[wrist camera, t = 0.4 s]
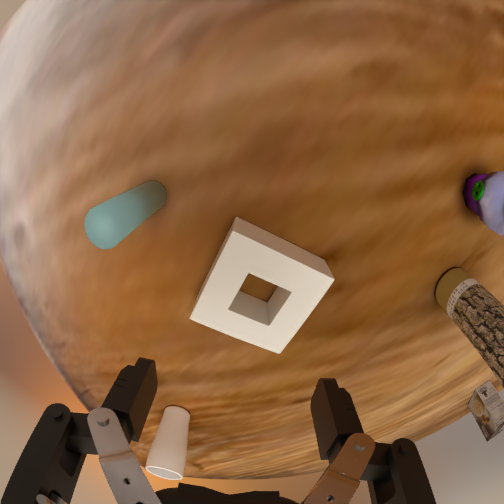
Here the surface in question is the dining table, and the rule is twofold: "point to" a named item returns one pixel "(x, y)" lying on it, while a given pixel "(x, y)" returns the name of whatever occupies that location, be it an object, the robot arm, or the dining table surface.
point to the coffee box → (488, 410)
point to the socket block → (267, 268)
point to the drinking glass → (170, 445)
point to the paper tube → (475, 316)
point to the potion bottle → (487, 198)
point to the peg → (123, 214)
